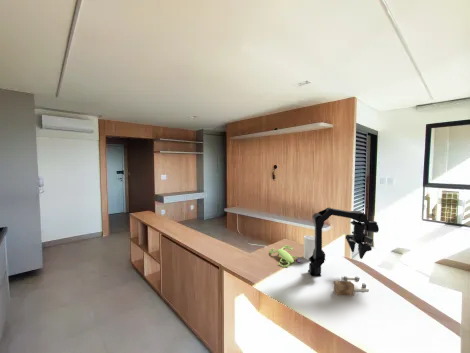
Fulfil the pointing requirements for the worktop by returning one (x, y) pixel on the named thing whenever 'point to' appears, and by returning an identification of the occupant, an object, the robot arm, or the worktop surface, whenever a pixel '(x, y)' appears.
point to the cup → (308, 246)
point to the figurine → (285, 255)
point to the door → (343, 288)
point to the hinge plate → (356, 283)
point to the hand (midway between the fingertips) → (356, 255)
